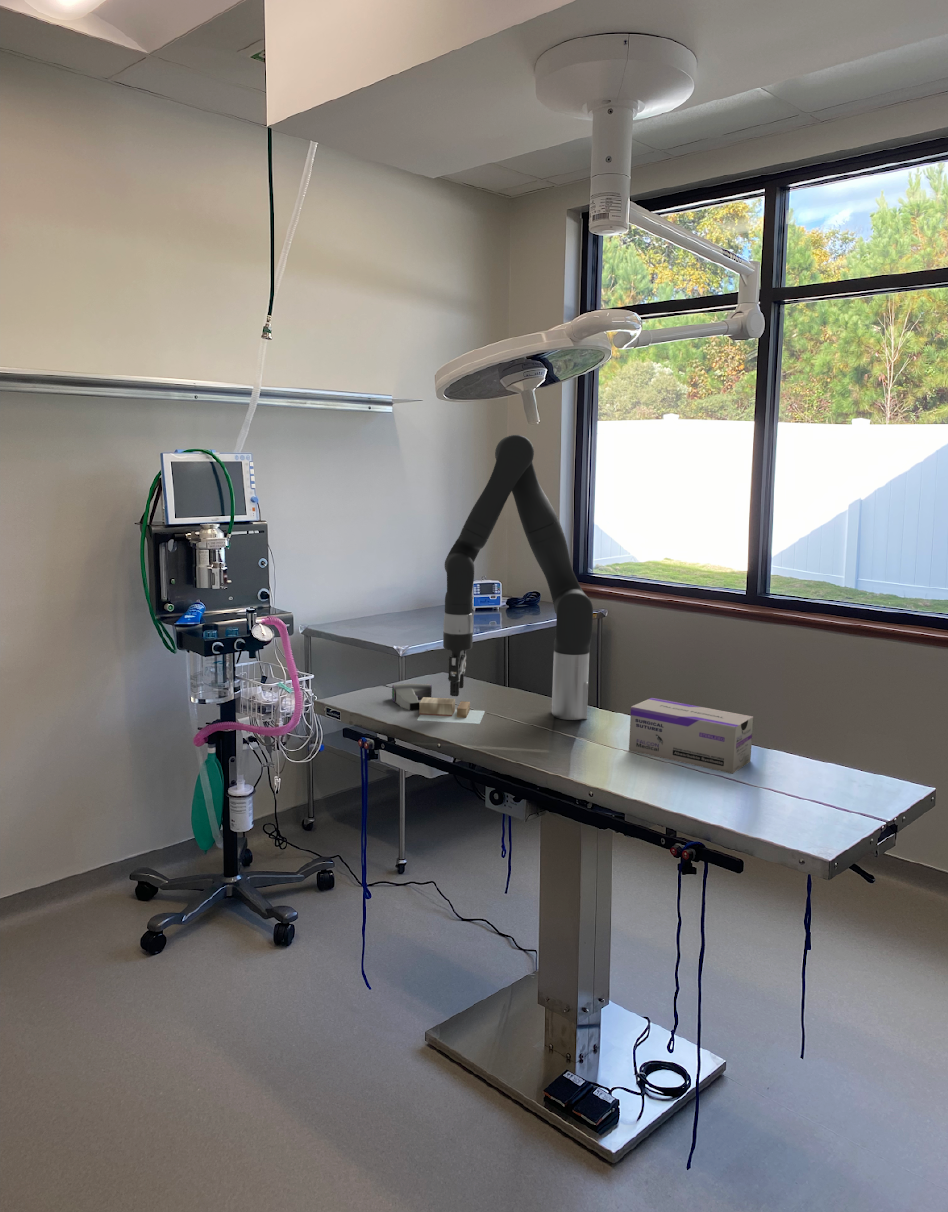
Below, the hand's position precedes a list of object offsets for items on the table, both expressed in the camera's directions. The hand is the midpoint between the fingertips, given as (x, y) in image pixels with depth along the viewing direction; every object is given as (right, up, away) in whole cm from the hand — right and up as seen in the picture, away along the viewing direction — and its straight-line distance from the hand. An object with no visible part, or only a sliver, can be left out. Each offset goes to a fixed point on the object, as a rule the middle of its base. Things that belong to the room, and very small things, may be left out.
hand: (456, 691), depth 240 cm
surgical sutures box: (+54, -13, -27) cm, 61 cm away
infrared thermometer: (-11, -5, +12) cm, 17 cm away
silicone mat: (-1, -7, -1) cm, 7 cm away
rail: (+2, -6, +1) cm, 7 cm away
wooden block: (-1, -4, +1) cm, 4 cm away
